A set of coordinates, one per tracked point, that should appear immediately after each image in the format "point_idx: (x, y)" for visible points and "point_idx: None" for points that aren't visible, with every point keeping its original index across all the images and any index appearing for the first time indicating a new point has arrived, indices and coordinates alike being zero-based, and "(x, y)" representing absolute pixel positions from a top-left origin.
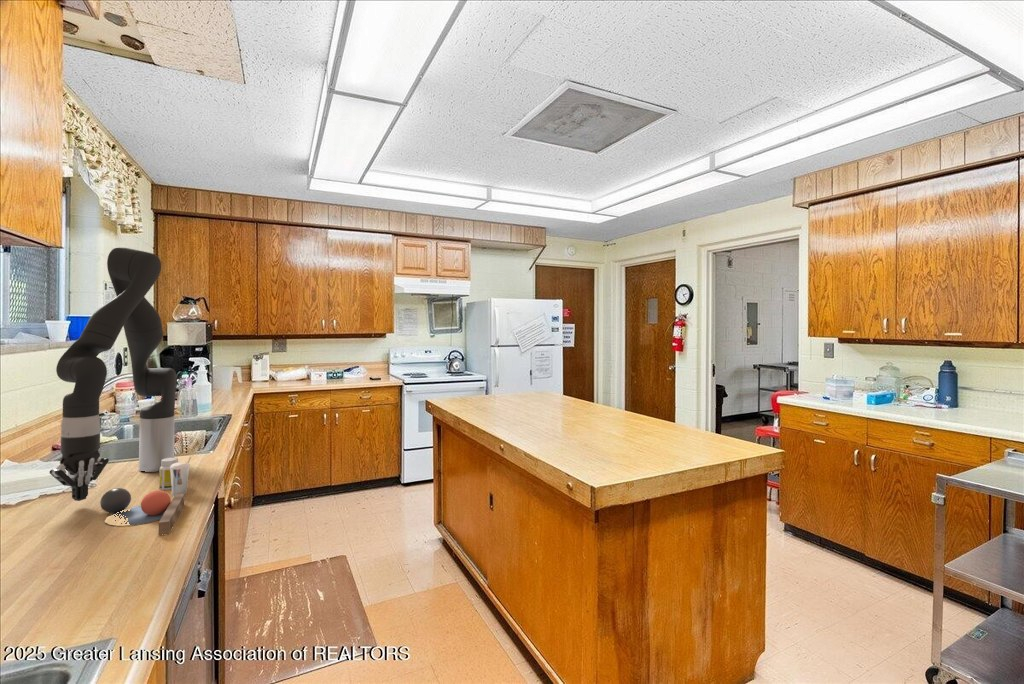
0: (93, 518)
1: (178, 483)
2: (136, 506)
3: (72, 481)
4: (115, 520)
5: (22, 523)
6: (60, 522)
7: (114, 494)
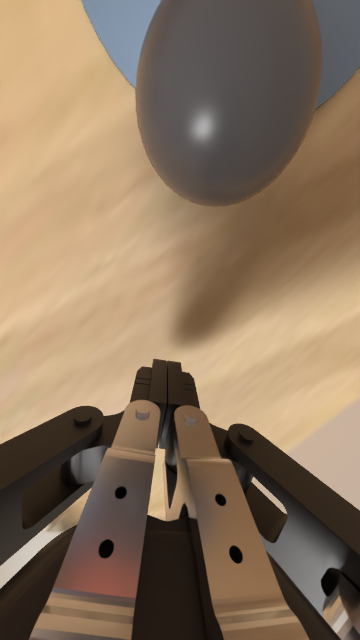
0: (284, 195)
1: None
2: (127, 77)
3: (257, 454)
4: (338, 23)
5: (312, 403)
6: (317, 295)
7: (311, 12)
